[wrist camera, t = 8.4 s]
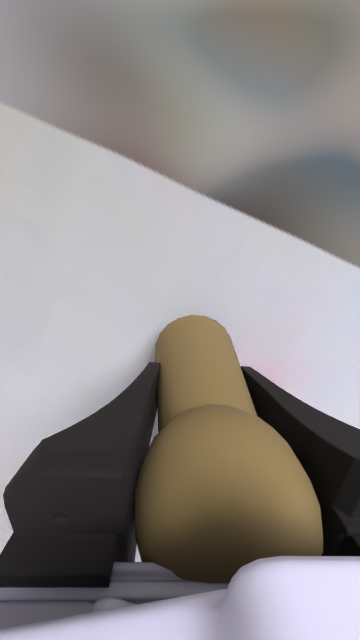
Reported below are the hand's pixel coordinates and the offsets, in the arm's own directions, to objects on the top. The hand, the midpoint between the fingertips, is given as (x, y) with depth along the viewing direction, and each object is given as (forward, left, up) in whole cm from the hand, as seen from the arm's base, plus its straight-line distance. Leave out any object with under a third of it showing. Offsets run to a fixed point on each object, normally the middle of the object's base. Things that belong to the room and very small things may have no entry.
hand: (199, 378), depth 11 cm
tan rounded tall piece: (0, 0, -4) cm, 4 cm away
